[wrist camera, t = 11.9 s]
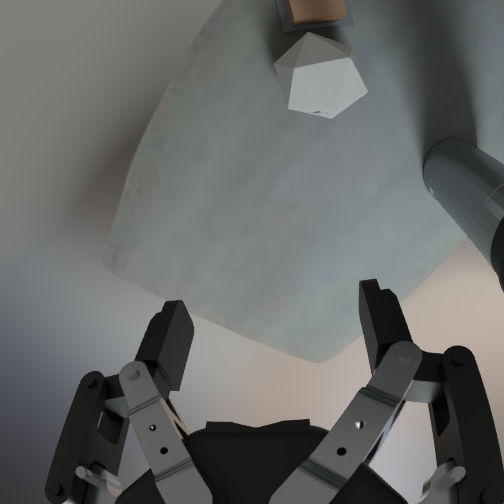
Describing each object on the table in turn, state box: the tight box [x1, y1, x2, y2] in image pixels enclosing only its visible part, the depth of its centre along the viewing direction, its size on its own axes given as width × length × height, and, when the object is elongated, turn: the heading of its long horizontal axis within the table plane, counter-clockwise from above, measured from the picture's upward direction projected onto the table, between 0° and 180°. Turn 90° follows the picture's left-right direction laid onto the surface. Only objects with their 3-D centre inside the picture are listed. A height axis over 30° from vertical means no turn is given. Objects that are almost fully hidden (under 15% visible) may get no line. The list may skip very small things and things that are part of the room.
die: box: [274, 32, 368, 119], centre depth 28 cm, size 8×9×10 cm
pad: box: [275, 0, 354, 33], centre depth 26 cm, size 8×5×1 cm, turn 103°
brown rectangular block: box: [285, 0, 347, 27], centre depth 24 cm, size 5×4×6 cm
